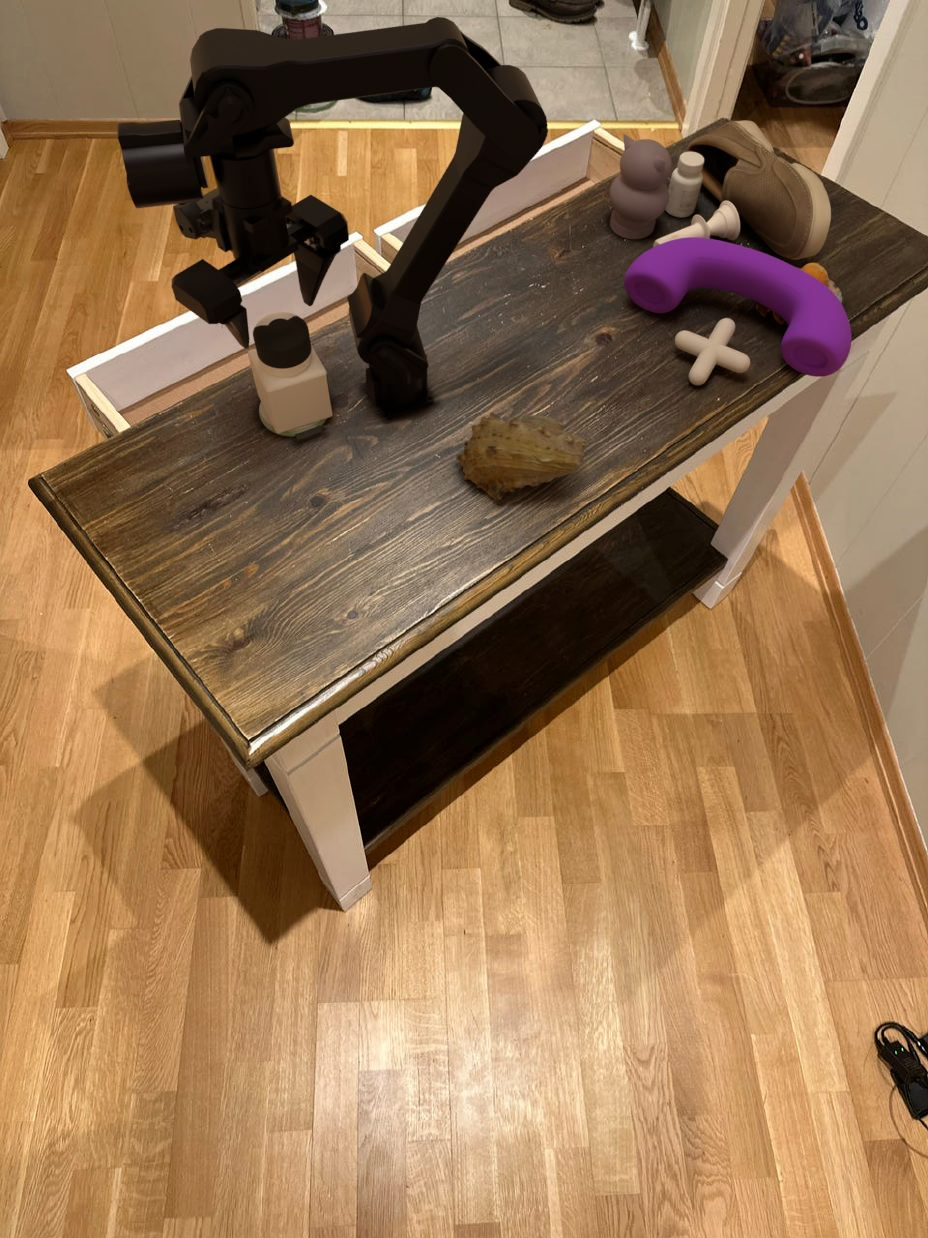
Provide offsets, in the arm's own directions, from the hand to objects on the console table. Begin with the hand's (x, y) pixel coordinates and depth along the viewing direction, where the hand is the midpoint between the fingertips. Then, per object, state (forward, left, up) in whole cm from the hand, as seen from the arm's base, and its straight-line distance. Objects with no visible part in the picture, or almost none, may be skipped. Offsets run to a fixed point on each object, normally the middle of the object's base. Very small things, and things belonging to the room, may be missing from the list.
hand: (276, 324), depth 95 cm
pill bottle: (-65, -12, -13) cm, 68 cm away
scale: (0, 0, -13) cm, 13 cm away
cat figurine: (-57, -12, -13) cm, 60 cm away
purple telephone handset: (-56, +5, -2) cm, 56 cm away
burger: (-67, +12, -13) cm, 70 cm away
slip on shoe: (-76, -3, -8) cm, 76 cm away
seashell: (-19, +21, -14) cm, 32 cm away
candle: (-67, -3, -10) cm, 68 cm away
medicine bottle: (0, 0, -12) cm, 12 cm away
